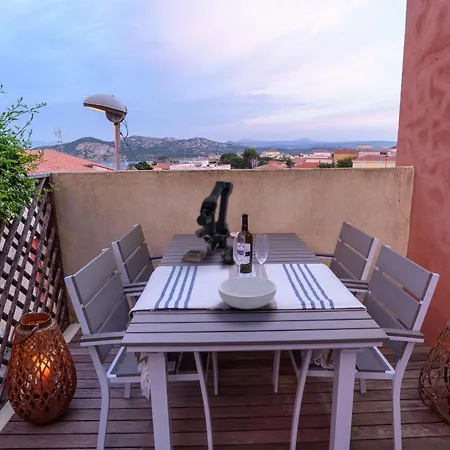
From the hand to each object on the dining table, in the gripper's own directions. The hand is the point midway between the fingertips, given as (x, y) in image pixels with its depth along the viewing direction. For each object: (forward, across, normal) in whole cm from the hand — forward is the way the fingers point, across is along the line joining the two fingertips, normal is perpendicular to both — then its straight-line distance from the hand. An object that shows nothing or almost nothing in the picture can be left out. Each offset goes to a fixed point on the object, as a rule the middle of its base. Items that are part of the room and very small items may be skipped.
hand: (210, 250), depth 189 cm
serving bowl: (+2, +66, -19) cm, 68 cm away
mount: (+2, +3, -11) cm, 12 cm away
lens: (+2, 0, 0) cm, 2 cm away
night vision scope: (+2, +16, +2) cm, 17 cm away
